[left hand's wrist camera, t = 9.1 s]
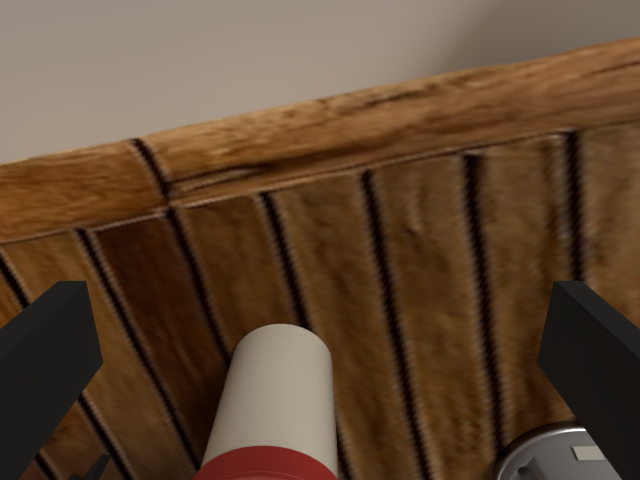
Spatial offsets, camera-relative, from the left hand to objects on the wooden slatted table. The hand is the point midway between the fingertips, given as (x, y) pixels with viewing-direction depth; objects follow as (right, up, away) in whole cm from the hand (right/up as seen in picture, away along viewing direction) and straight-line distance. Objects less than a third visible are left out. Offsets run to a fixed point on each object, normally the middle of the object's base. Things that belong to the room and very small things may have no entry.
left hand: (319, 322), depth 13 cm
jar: (-4, -11, +33) cm, 34 cm away
